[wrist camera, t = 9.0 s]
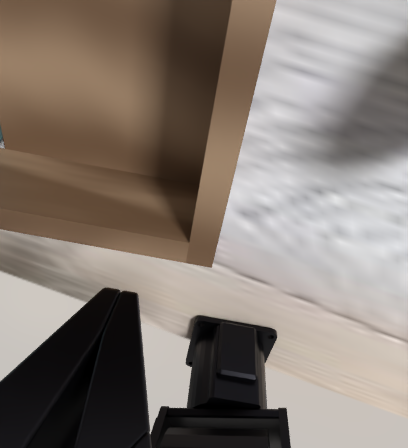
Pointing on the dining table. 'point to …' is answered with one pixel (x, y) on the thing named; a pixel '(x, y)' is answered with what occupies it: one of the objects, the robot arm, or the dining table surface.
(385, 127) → the dining table surface
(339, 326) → the dining table surface
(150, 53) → the crate
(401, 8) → the dining table surface
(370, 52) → the dining table surface
